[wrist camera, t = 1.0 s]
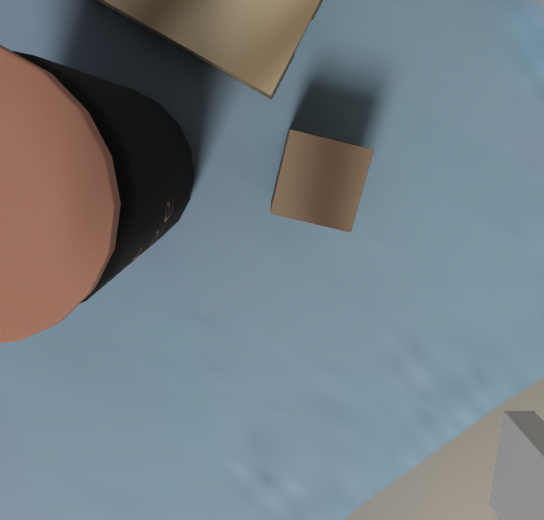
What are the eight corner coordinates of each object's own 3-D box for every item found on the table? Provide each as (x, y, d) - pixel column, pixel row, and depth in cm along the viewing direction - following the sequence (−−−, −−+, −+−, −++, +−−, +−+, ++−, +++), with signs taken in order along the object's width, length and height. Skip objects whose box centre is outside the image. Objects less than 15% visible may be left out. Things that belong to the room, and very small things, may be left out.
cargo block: (270, 202, 35) (270, 213, 30) (288, 130, 34) (290, 129, 29) (340, 219, 35) (350, 232, 30) (359, 148, 34) (373, 149, 29)
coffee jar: (73, 262, 36) (-117, 378, 19) (16, 113, 34) (-263, 85, 16) (216, 223, 35) (157, 305, 18) (168, 67, 33) (46, -15, 15)
